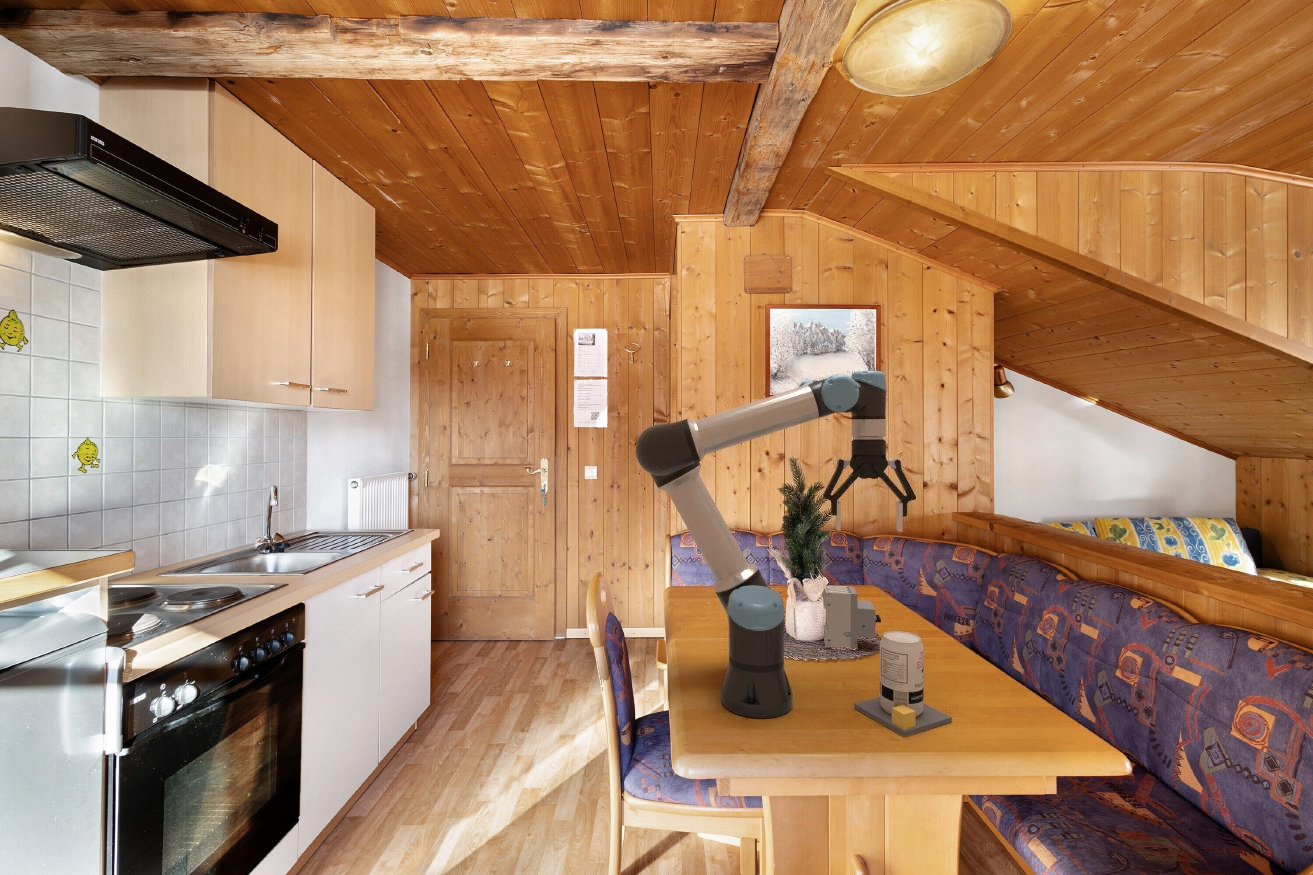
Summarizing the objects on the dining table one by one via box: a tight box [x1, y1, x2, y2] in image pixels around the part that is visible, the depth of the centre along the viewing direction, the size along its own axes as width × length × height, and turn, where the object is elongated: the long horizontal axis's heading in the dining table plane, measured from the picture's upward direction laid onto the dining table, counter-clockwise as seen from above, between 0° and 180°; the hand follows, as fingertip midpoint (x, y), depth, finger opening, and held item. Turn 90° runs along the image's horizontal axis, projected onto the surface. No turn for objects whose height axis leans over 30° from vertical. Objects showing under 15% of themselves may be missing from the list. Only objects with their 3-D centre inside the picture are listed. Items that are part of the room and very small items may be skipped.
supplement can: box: [879, 630, 925, 717], centre depth 122 cm, size 8×8×15 cm
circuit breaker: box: [822, 585, 882, 649], centre depth 161 cm, size 8×14×15 cm, turn 78°
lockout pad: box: [853, 696, 953, 738], centre depth 122 cm, size 13×13×4 cm
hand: (868, 530), depth 139 cm, fingers open, 13 cm apart
